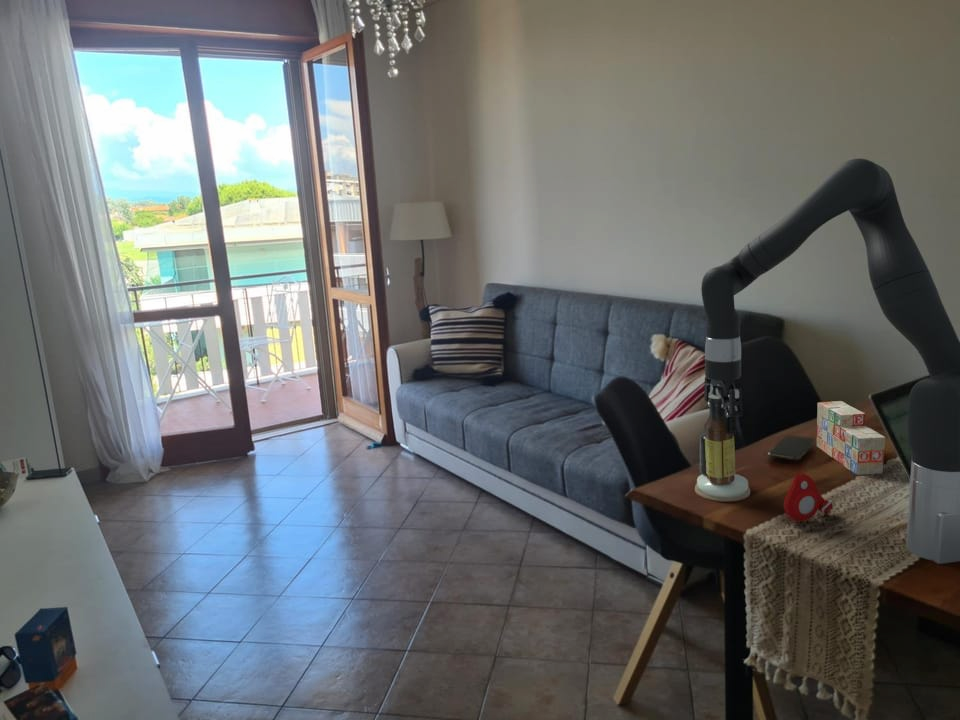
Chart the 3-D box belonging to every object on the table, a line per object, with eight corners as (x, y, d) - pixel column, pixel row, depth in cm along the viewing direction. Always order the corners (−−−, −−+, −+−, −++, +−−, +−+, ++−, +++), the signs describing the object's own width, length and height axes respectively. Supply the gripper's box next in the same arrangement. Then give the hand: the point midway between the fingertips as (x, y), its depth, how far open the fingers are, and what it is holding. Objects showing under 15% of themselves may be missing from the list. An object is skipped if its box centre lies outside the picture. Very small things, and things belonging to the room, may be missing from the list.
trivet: (760, 498, 157) (760, 487, 157) (708, 504, 156) (708, 493, 156) (735, 478, 169) (735, 468, 168) (686, 484, 168) (686, 474, 167)
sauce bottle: (732, 475, 164) (733, 391, 160) (737, 485, 158) (738, 399, 154) (703, 474, 165) (703, 392, 161) (706, 485, 159) (706, 399, 155)
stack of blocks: (883, 475, 166) (886, 424, 163) (856, 476, 166) (858, 426, 163) (839, 445, 187) (841, 400, 184) (815, 446, 187) (817, 401, 184)
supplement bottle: (717, 480, 162) (718, 430, 160) (693, 472, 168) (693, 424, 165) (736, 472, 166) (737, 423, 163) (712, 465, 172) (712, 417, 169)
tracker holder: (789, 529, 142) (790, 482, 140) (775, 520, 147) (776, 474, 144) (840, 518, 145) (842, 472, 143) (824, 510, 150) (826, 465, 147)
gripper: (755, 361, 149) (754, 435, 153) (724, 349, 163) (724, 417, 167) (720, 364, 149) (720, 439, 152) (693, 352, 163) (693, 420, 166)
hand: (722, 427), depth 159 cm, fingers open, 8 cm apart
